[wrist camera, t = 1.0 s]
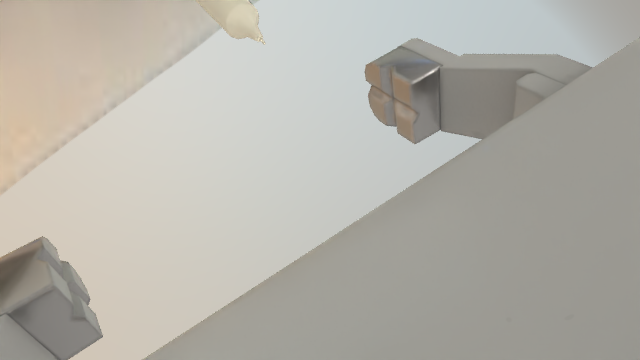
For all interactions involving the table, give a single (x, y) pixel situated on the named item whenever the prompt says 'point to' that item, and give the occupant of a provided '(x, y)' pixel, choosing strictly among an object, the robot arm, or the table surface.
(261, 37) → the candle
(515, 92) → the robot arm
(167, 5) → the table surface
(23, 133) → the table surface
